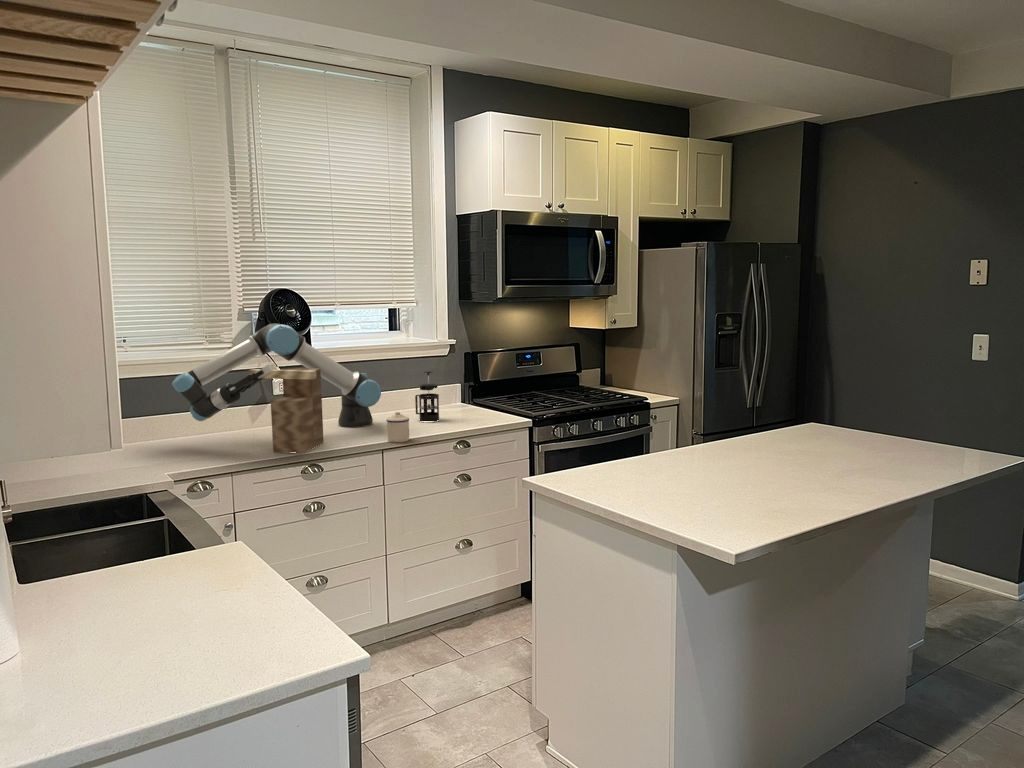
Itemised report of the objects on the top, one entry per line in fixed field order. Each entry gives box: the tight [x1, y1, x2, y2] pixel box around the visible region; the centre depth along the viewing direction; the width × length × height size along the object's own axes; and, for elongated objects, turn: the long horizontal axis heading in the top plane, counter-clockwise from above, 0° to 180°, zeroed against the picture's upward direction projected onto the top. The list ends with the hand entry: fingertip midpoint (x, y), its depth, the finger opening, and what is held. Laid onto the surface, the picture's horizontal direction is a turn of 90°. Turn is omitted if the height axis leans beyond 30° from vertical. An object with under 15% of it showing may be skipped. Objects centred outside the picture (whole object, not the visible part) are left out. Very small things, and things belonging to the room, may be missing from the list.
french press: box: [414, 370, 440, 422], centre depth 343 cm, size 12×9×23 cm
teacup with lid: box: [385, 411, 410, 443], centre depth 304 cm, size 12×9×12 cm
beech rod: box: [248, 368, 316, 380], centre depth 284 cm, size 26×3×3 cm, turn 79°
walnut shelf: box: [270, 367, 325, 454], centre depth 289 cm, size 12×18×30 cm, turn 169°
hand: (273, 366), depth 284 cm, fingers closed on beech rod, 3 cm apart
